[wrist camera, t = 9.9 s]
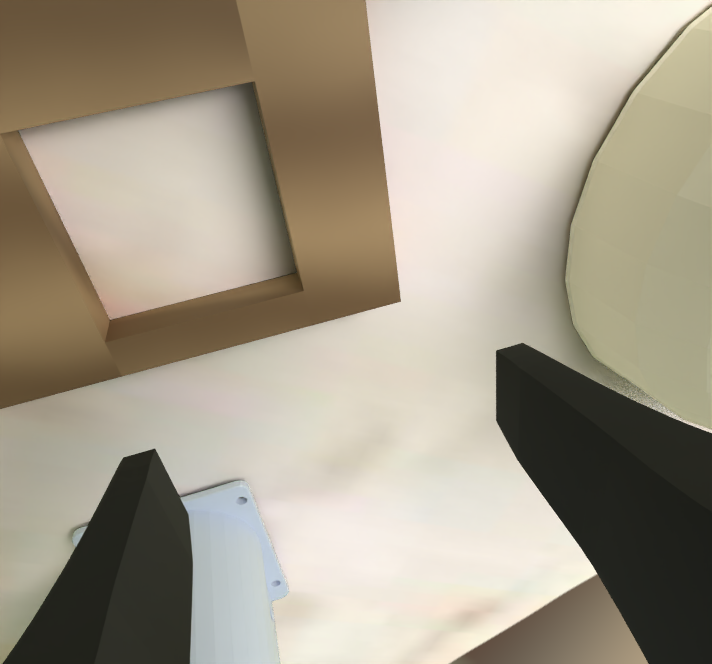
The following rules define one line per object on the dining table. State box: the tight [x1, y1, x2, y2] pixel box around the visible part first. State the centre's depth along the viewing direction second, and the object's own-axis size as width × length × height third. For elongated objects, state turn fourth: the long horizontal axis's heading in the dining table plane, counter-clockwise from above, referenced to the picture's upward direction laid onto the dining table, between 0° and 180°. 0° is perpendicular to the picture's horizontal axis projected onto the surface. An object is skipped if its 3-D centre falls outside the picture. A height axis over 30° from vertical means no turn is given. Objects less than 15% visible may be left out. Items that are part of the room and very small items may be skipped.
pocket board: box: [0, 0, 401, 409], centre depth 17 cm, size 12×16×2 cm
